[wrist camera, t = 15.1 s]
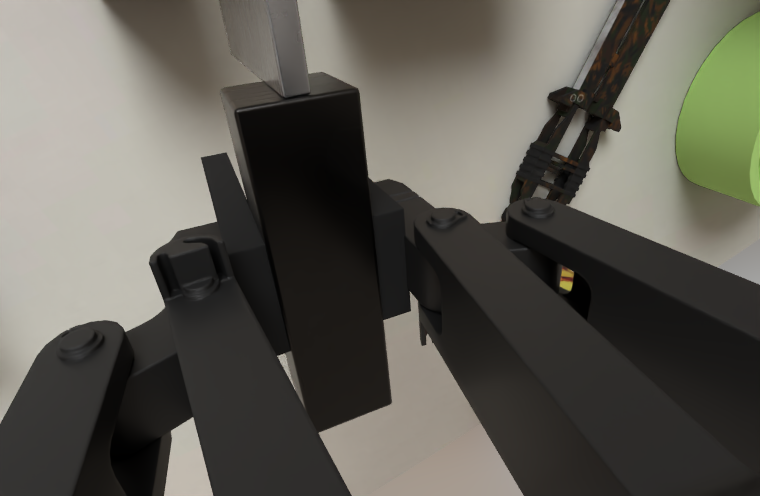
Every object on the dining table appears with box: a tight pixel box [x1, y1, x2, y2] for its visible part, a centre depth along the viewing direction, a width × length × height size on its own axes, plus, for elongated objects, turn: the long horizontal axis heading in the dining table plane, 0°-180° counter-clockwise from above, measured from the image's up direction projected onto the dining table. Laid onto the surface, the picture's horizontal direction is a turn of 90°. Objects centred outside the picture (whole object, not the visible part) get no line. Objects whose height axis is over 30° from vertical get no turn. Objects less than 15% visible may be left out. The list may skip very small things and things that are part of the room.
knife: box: [502, 0, 670, 222], centre depth 32 cm, size 25×6×1 cm, turn 151°
